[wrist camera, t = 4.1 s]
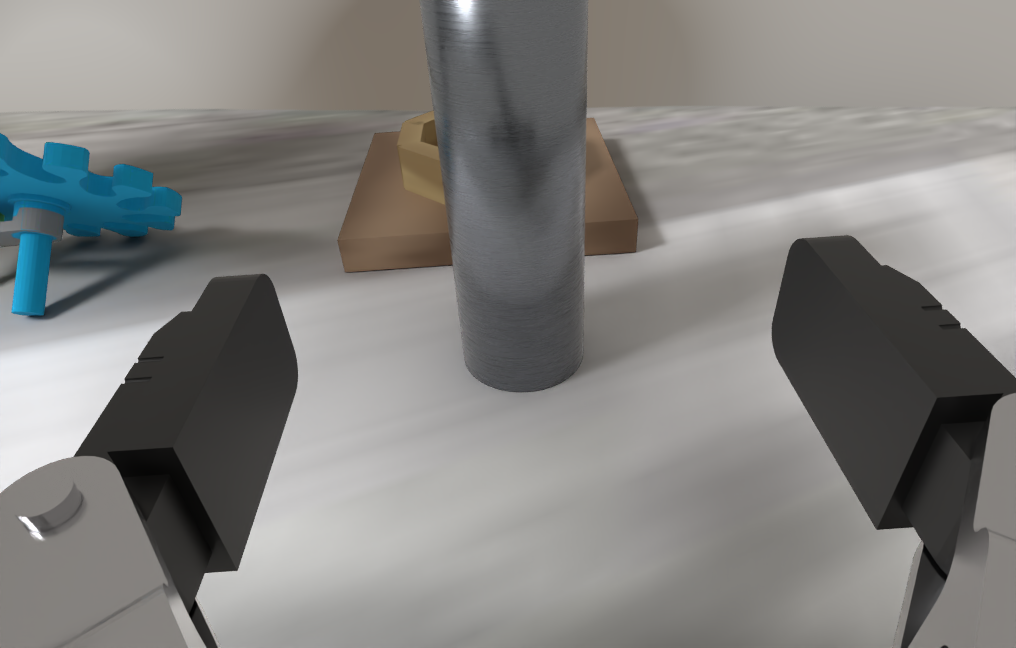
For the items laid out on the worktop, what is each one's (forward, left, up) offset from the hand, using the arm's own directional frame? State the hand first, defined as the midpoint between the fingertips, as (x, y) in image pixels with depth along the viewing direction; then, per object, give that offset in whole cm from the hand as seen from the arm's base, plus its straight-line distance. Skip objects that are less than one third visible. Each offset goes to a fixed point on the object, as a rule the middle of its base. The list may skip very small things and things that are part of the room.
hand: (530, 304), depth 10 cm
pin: (0, +9, -8) cm, 12 cm away
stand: (-1, +21, -8) cm, 22 cm away
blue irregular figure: (-19, +16, -8) cm, 26 cm away
